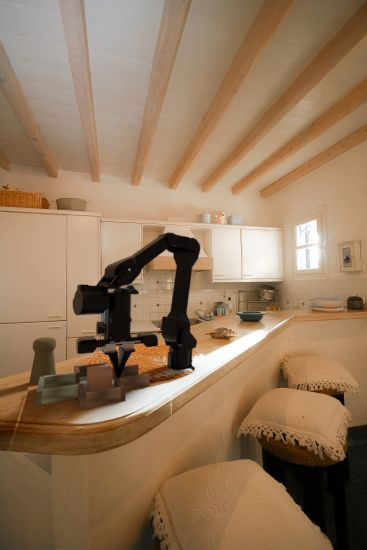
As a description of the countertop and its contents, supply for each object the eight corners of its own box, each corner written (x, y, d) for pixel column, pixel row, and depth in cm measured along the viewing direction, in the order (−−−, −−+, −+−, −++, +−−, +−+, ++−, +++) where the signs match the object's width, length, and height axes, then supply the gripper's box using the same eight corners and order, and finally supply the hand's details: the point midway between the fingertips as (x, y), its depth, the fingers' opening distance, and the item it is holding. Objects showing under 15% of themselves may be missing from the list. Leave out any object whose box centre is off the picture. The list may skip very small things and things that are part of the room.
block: (108, 380, 61) (108, 364, 61) (112, 387, 57) (112, 369, 57) (86, 384, 59) (87, 366, 59) (88, 391, 54) (89, 372, 55)
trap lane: (131, 370, 72) (132, 359, 72) (157, 397, 53) (158, 382, 53) (40, 382, 61) (41, 369, 62) (33, 421, 43) (33, 403, 43)
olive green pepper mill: (44, 388, 58) (46, 340, 59) (22, 386, 59) (24, 339, 60) (61, 379, 64) (63, 336, 65) (41, 377, 65) (43, 335, 66)
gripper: (145, 310, 72) (144, 364, 71) (75, 312, 64) (73, 374, 62) (159, 312, 62) (158, 376, 61) (78, 315, 54) (76, 389, 53)
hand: (117, 378), depth 60 cm, fingers closed
